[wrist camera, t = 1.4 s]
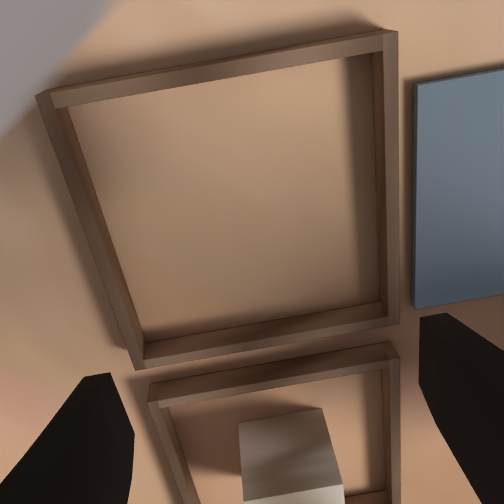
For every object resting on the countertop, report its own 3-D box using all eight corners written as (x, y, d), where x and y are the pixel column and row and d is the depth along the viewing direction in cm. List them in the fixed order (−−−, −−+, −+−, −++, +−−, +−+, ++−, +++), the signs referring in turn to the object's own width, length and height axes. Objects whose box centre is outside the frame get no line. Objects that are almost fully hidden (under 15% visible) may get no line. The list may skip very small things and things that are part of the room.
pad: (601, 50, 17) (609, 51, 17) (559, 278, 22) (564, 283, 22) (413, 83, 17) (417, 85, 17) (411, 304, 22) (414, 309, 22)
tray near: (386, 29, 16) (398, 31, 15) (390, 308, 22) (399, 323, 21) (46, 89, 16) (34, 95, 15) (138, 353, 22) (135, 370, 21)
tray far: (391, 341, 23) (399, 357, 22) (393, 493, 29) (400, 512, 28) (149, 384, 23) (147, 402, 22) (200, 527, 29) (199, 548, 28)
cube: (321, 407, 25) (343, 484, 21) (328, 462, 27) (348, 541, 23) (237, 422, 25) (243, 501, 21) (250, 476, 27) (258, 557, 23)
